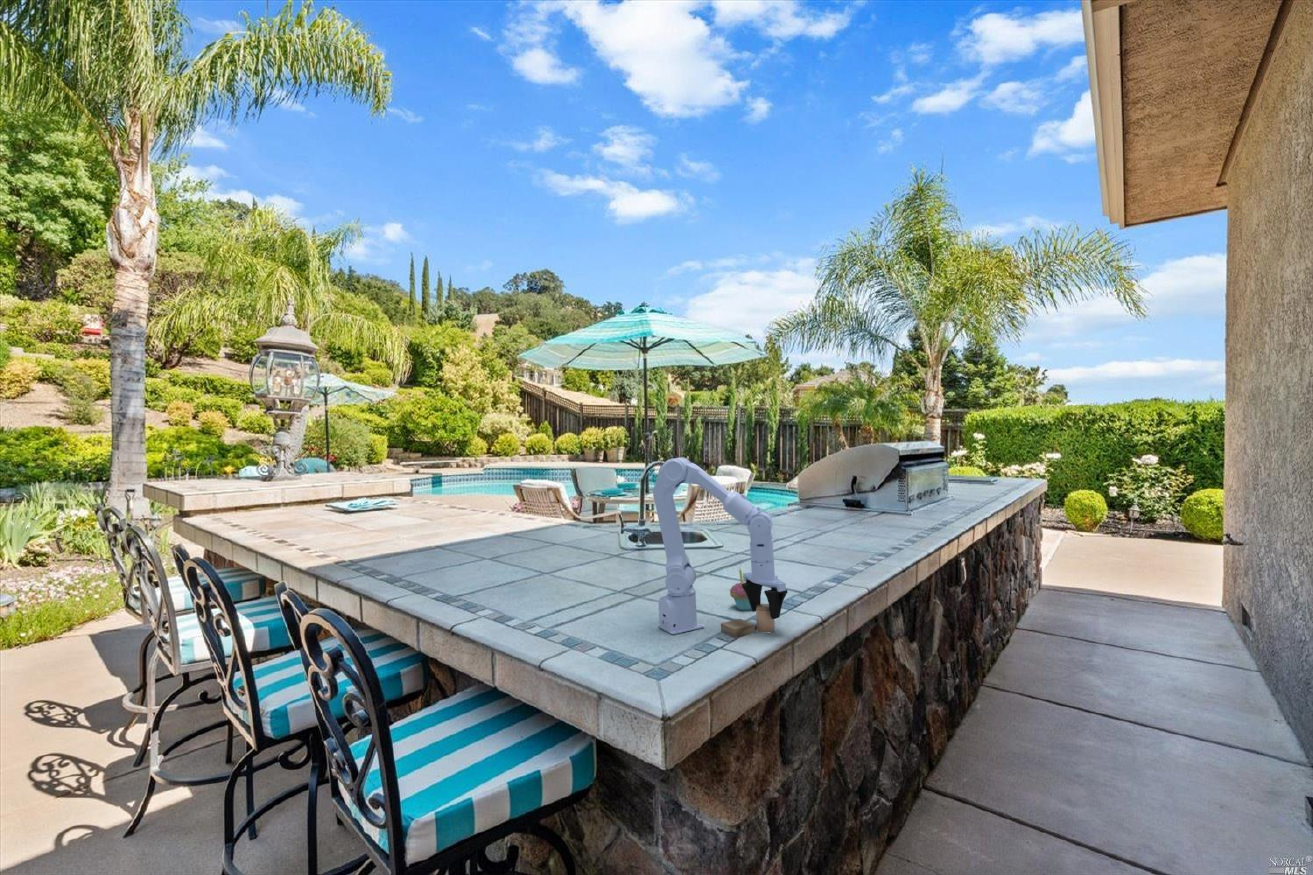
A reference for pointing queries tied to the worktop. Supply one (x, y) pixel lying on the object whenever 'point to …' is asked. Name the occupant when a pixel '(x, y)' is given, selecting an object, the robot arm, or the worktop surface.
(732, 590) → the cupcake
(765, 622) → the jar
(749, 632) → the base
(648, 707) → the worktop surface
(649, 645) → the worktop surface
